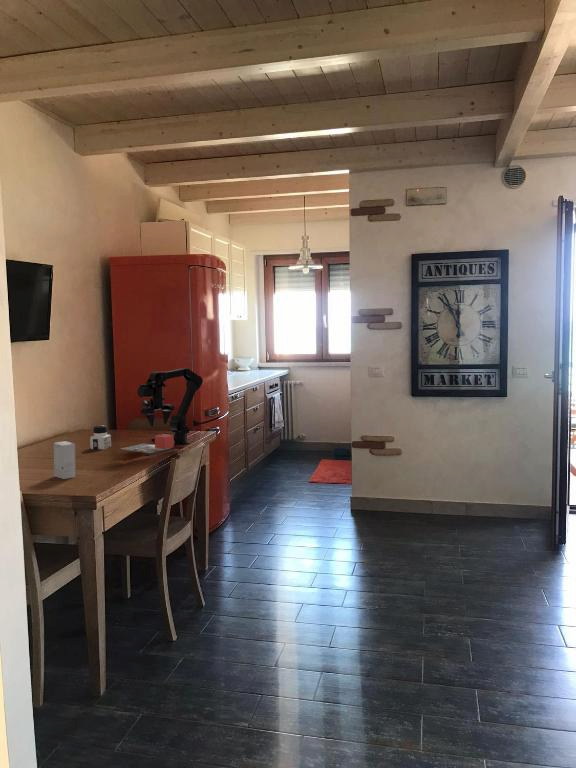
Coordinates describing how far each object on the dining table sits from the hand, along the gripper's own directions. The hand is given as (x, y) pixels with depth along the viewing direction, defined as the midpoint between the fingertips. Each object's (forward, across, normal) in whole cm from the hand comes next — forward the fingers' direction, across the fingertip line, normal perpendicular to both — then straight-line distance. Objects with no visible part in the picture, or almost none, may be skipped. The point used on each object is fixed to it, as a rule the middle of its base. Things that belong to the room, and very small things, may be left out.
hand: (158, 425), depth 325 cm
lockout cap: (+10, +3, +8) cm, 13 cm away
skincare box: (+12, +65, +11) cm, 67 cm away
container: (+12, +20, -22) cm, 32 cm away
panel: (+12, +9, 0) cm, 15 cm away
